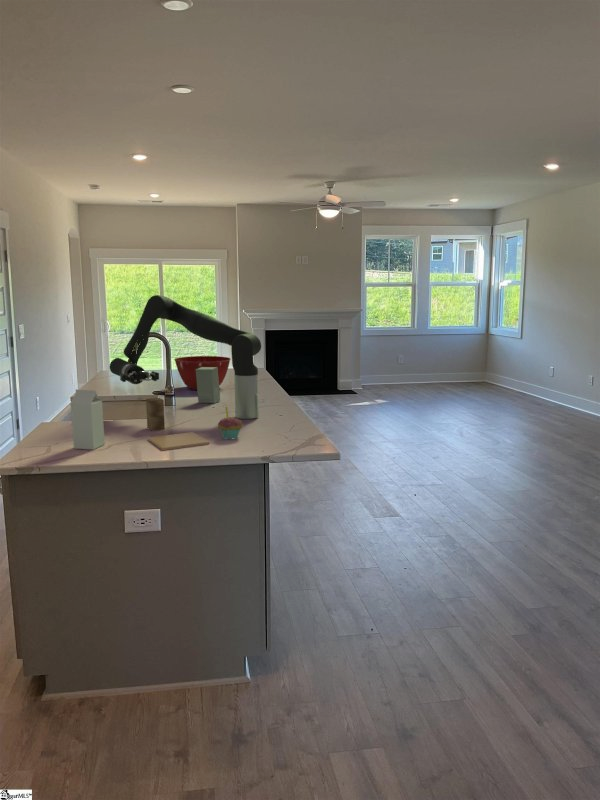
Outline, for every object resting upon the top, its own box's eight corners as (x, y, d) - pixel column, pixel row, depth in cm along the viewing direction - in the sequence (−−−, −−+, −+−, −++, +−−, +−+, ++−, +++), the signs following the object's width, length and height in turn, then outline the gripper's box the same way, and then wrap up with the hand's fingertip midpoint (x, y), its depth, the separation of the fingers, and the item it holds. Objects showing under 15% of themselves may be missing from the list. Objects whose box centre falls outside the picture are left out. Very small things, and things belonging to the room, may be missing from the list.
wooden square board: (192, 434, 220) (192, 432, 220) (209, 444, 206) (209, 441, 206) (147, 439, 212) (147, 437, 212) (162, 450, 198) (162, 448, 198)
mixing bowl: (203, 382, 338) (202, 354, 335) (242, 387, 321) (242, 357, 318) (163, 389, 315) (162, 359, 312) (204, 394, 299) (203, 363, 296)
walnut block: (160, 426, 232) (159, 397, 230) (164, 429, 228) (163, 399, 226) (147, 428, 230) (146, 398, 228) (151, 430, 225) (150, 401, 223)
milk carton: (93, 450, 199) (89, 391, 196) (73, 449, 200) (69, 391, 197) (104, 444, 206) (101, 388, 202) (85, 443, 207) (81, 387, 204)
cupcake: (232, 441, 209) (231, 407, 207) (213, 438, 214) (212, 404, 211) (247, 436, 216) (247, 402, 214) (228, 433, 221) (227, 400, 219)
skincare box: (220, 401, 282) (219, 366, 279) (213, 404, 275) (212, 368, 272) (203, 400, 285) (202, 366, 282) (196, 403, 278) (195, 368, 275)
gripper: (114, 365, 245) (125, 370, 231) (150, 363, 252) (162, 368, 238) (115, 384, 246) (126, 390, 232) (150, 381, 253) (163, 387, 239)
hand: (144, 379), depth 235 cm, fingers open, 8 cm apart
